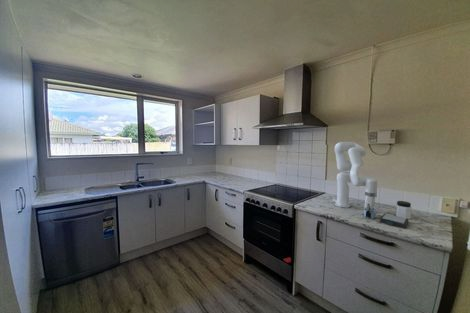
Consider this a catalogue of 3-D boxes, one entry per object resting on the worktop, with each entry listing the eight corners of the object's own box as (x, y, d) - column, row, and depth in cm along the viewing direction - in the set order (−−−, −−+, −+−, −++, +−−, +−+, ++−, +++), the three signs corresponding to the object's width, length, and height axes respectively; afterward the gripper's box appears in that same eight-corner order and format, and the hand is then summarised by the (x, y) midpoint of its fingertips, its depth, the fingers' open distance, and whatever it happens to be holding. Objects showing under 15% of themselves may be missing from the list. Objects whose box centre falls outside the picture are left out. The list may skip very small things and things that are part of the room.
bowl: (362, 216, 149) (363, 210, 149) (365, 214, 154) (365, 207, 154) (373, 219, 144) (374, 212, 143) (376, 217, 149) (376, 210, 148)
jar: (402, 214, 153) (403, 200, 152) (413, 218, 145) (414, 203, 144) (392, 215, 152) (393, 200, 151) (402, 219, 144) (403, 204, 143)
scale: (379, 222, 138) (380, 218, 138) (384, 217, 149) (384, 212, 148) (405, 229, 128) (405, 224, 127) (407, 222, 138) (408, 218, 138)
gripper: (368, 191, 156) (366, 211, 158) (362, 195, 145) (360, 217, 146) (379, 193, 151) (377, 214, 152) (373, 197, 139) (372, 220, 140)
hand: (369, 215), depth 149 cm, fingers closed on bowl, 7 cm apart
